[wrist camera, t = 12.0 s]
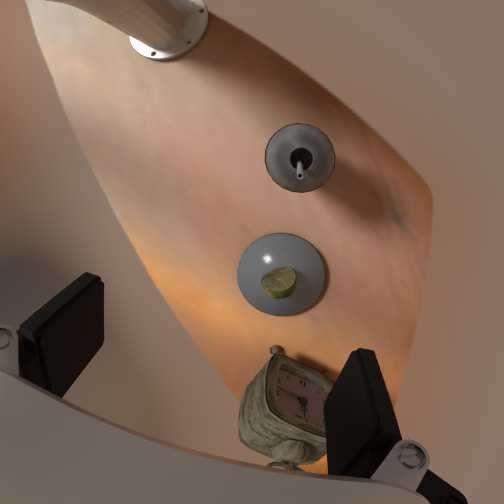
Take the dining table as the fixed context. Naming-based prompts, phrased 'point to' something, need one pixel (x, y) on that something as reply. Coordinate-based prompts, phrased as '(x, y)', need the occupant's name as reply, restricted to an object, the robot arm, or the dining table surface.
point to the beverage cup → (300, 158)
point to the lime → (279, 282)
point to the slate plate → (279, 255)
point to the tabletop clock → (285, 412)
